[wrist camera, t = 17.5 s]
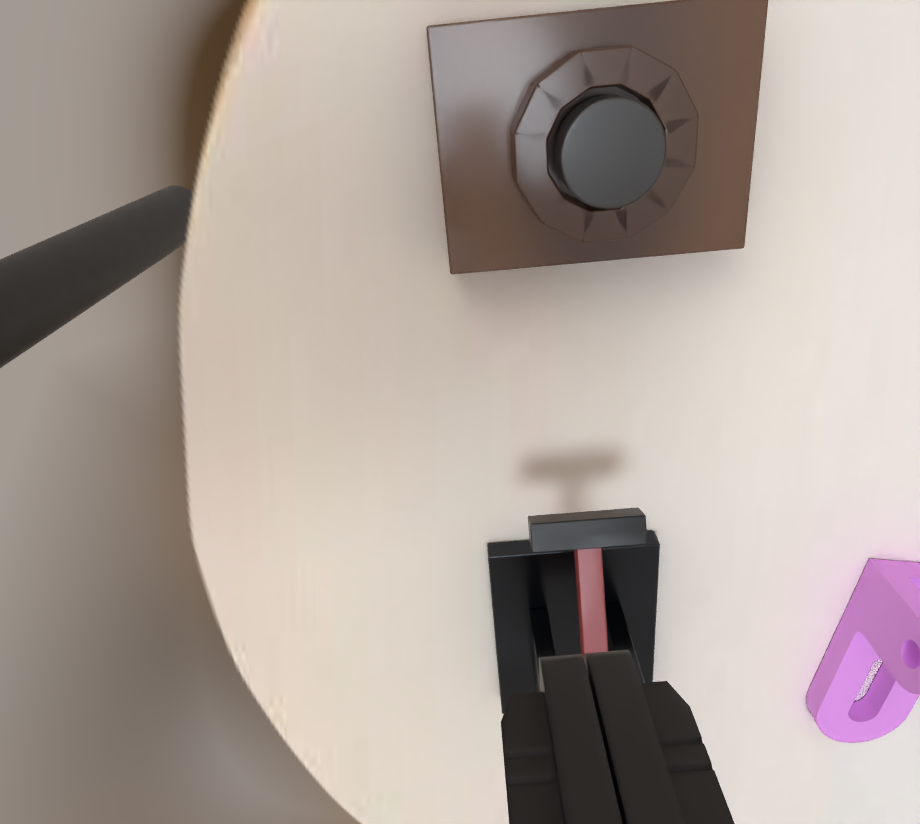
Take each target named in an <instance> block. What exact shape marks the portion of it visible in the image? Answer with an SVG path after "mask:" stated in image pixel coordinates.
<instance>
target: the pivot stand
mask: <svg viewBox="0 0 920 824" xmlns="http://www.w3.org/2000/svg"><path fill="white" fill-rule="evenodd" d="M646 533H647V544H644V545H631V546H618V547H605V548H602V563H603V578H604V594H605V610H606V625H607V641H608V651H619V650H629V651H630V653H631V655H632V658H633V660H634V664H635V667H636V670H637V673H638V676H639V679H640V683H649V682H653V665H654V645H655V626H656V607H657V588H658V568H659V549H660V544H659V541H658V539H657V537H656V534H655V532H654V531H646ZM487 547H488V561H489V572H490V583H491V595H492V606H493V617H494V628H495V639H496V651H497V662H498V673H499V684H500V696H501V707H502V713H503V714H504V713H505V710H506V707H507V705H508V702H509V699H510V697H511V694H520V693H532V692H541V691H540V675H539V657H551V656H563V655H575V654H581V643H580V629H579V614H578V600H577V585H576V571H575V556H574V550H565V551H552V552H539V553H532V549H531V545H530V540H527V541H513V542H500V543H488V545H487Z"/></svg>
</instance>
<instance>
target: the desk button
mask: <svg viewBox="0 0 920 824" xmlns="http://www.w3.org/2000/svg"><path fill="white" fill-rule="evenodd" d="M554 158H555V165H556V169H557V171H558V174H559V176H560V178H561V180H562V181H563V183H564V184H565V185H566V186H567V187H568V189H569V190H570V191H571V192H572V193H573V194H574V195H575V196H576V197H577V198H578V199H579V200H581V201H582V202H584V203H586V204H588V205H590V206H592V207H596V208H601V209H615V208H620V207H624V206H627V205H629V204H631V203H633V202H635V201H637V200H638V199H640V198H641V197H642V196H644V195H645V194H646V193H647V192H648V191H649V190H650V189H651V188H652V186H653V185H654V184H655V182H656V181H657V179H658V178H659V176H660V173H661V171H662V169H663V166H664V162H665V158H666V137H665V132H664V129H663V126H662V124H661V122H660V120H659V119H658V117H657V116H656V114H655V113H654V112H653V111H652V110H651V109H650V108H649V107H648V106H646V105H645V104H643V103H642V102H640V101H638V100H635V99H632V98H628V97H623V96H619V95H600V96H596V97H592V98H590V99H588V100H586V101H584V102H582V103H581V104H579V105H578V106H577V107H575V108H574V109H573V110H572V111H571V112H570V113H569V114H568V115H567V117H566V118H565V120H564V121H563V123H562V125H561V126H560V129H559V131H558V133H557V137H556V140H555V147H554Z"/></svg>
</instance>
